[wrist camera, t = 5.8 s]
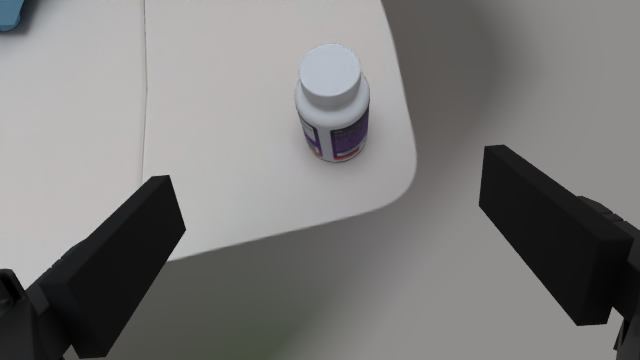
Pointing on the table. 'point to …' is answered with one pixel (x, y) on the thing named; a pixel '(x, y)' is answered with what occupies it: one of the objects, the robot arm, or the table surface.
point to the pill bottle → (333, 102)
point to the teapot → (9, 14)
